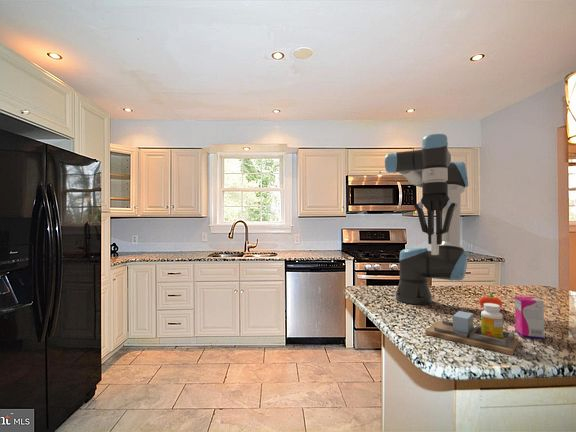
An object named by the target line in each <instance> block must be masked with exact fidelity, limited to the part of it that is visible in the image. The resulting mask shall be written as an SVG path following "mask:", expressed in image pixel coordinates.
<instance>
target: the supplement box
mask: <svg viewBox="0 0 576 432" xmlns="http://www.w3.org/2000/svg"><path fill="white" fill-rule="evenodd" d="M544 303H545V302H544V300H542V299H540V298H538V297H536V296H526V295H525V296H523V295H522V296H521V295H514V311H515V312H514V314H515V315H514V317H515V319H514V320H515V332H517V334H519V335H520V336H521V337H522V338H527V339H540V340H545V337H546V336H545V335H546V334H545V309H544V308H545V307H544V306H545V305H544Z"/></svg>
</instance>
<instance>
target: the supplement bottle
mask: <svg viewBox="0 0 576 432" xmlns="http://www.w3.org/2000/svg"><path fill="white" fill-rule="evenodd" d="M500 311H501V308H500V305H497V304H493V303H484V308H483V310H481V312H480V326H481V335H484V336H489V337H493V338H498V339H503V331H504V316H503V314H502V313H501V312H500Z"/></svg>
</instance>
